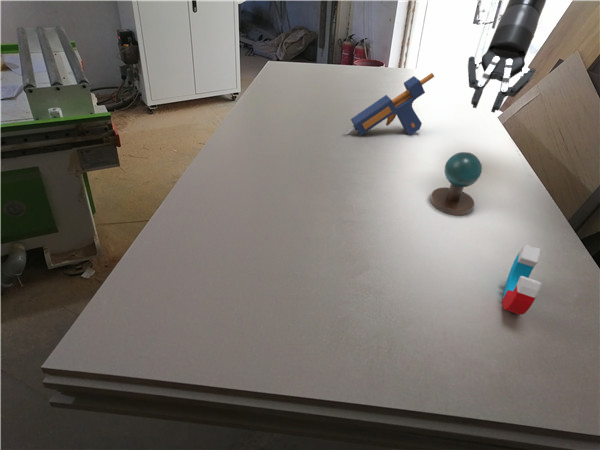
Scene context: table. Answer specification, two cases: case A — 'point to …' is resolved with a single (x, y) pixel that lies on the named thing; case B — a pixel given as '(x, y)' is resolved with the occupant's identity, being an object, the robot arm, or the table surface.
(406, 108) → the glue gun
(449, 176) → the ball stand
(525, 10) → the robot arm
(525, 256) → the magnet
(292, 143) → the table surface
